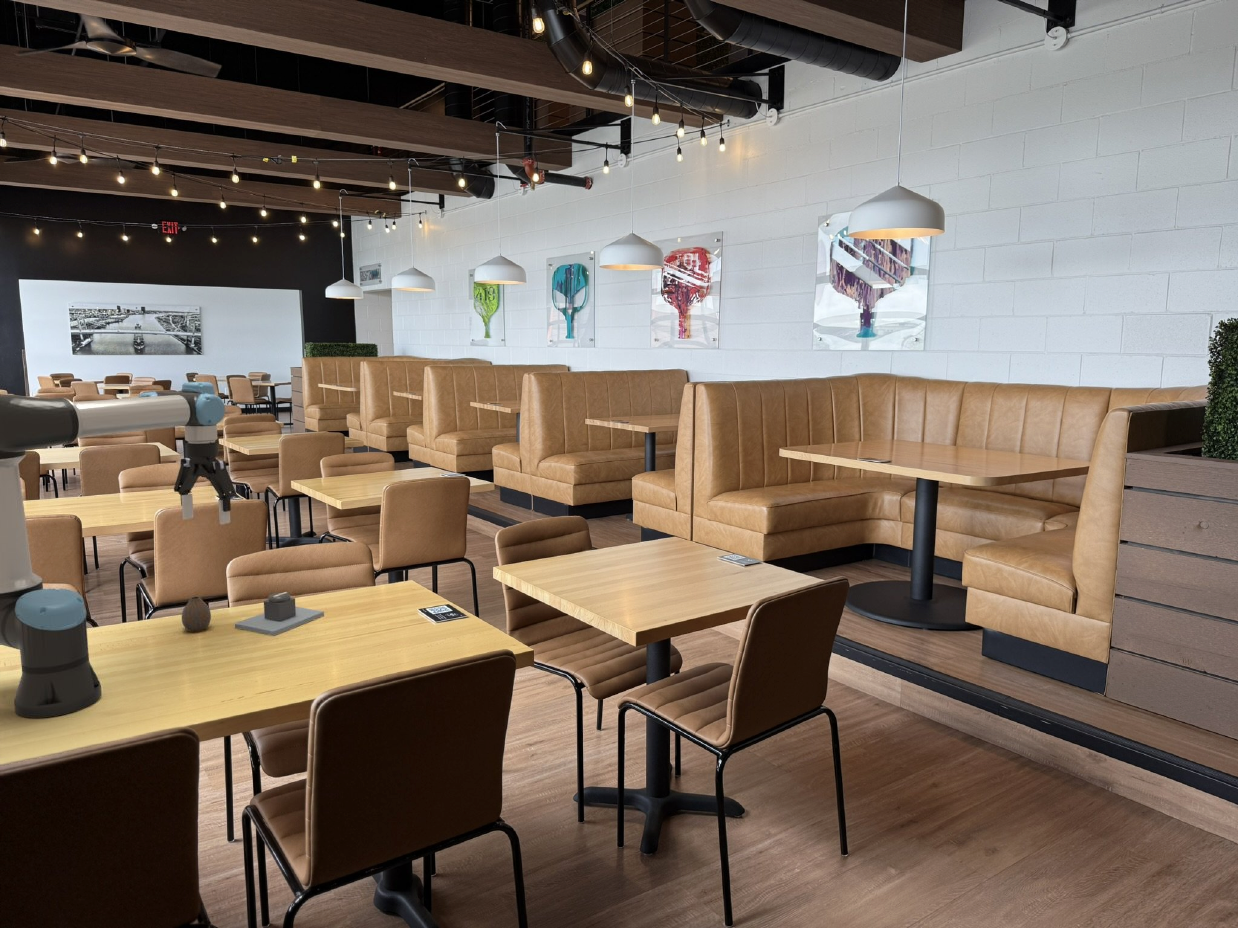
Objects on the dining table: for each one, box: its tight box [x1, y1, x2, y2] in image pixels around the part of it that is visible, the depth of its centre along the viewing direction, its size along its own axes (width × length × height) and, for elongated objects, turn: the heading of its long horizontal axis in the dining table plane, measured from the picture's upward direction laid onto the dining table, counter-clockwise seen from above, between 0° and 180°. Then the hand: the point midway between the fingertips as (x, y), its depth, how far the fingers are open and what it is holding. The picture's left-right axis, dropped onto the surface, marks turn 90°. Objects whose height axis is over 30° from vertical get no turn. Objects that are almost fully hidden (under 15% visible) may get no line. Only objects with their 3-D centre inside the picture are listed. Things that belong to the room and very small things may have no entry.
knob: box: [263, 591, 296, 621], centre depth 223 cm, size 6×6×6 cm
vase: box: [181, 596, 212, 633], centre depth 217 cm, size 7×7×9 cm
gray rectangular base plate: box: [234, 606, 325, 637], centre depth 224 cm, size 18×14×5 cm
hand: (206, 521), depth 216 cm, fingers open, 13 cm apart
